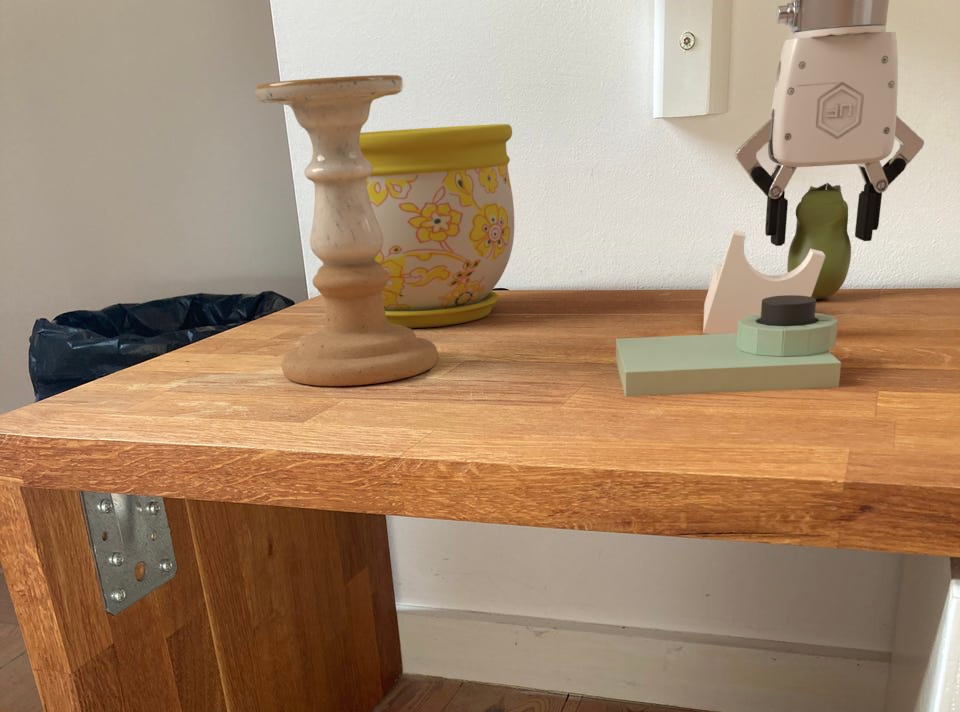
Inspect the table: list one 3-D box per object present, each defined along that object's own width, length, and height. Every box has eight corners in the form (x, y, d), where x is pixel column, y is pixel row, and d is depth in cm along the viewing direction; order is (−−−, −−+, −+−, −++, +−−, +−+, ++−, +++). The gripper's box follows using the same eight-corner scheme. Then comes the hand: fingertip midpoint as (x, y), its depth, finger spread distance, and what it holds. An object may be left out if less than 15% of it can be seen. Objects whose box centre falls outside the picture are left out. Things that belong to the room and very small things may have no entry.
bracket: (790, 354, 81) (825, 256, 77) (703, 332, 82) (733, 233, 78) (781, 322, 92) (811, 235, 89) (704, 303, 93) (730, 216, 89)
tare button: (807, 319, 73) (809, 294, 72) (819, 329, 70) (821, 302, 69) (755, 322, 73) (757, 296, 72) (765, 332, 70) (767, 305, 69)
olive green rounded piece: (849, 294, 98) (860, 180, 93) (842, 304, 94) (854, 184, 89) (789, 294, 100) (797, 182, 95) (780, 303, 96) (788, 186, 91)
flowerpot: (469, 338, 90) (456, 129, 82) (299, 331, 97) (273, 139, 90) (547, 302, 104) (542, 121, 97) (394, 298, 111) (378, 130, 104)
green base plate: (812, 352, 77) (816, 304, 76) (850, 387, 68) (856, 333, 66) (615, 361, 79) (615, 314, 77) (625, 397, 69) (625, 344, 67)
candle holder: (468, 357, 83) (450, 72, 73) (371, 393, 74) (336, 74, 65) (352, 347, 89) (322, 84, 80) (250, 379, 80) (202, 87, 71)
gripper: (742, 21, 84) (730, 252, 92) (962, 6, 82) (930, 241, 91) (728, 27, 90) (718, 242, 99) (931, 13, 89) (904, 232, 97)
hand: (820, 240), depth 94 cm, fingers open, 7 cm apart
